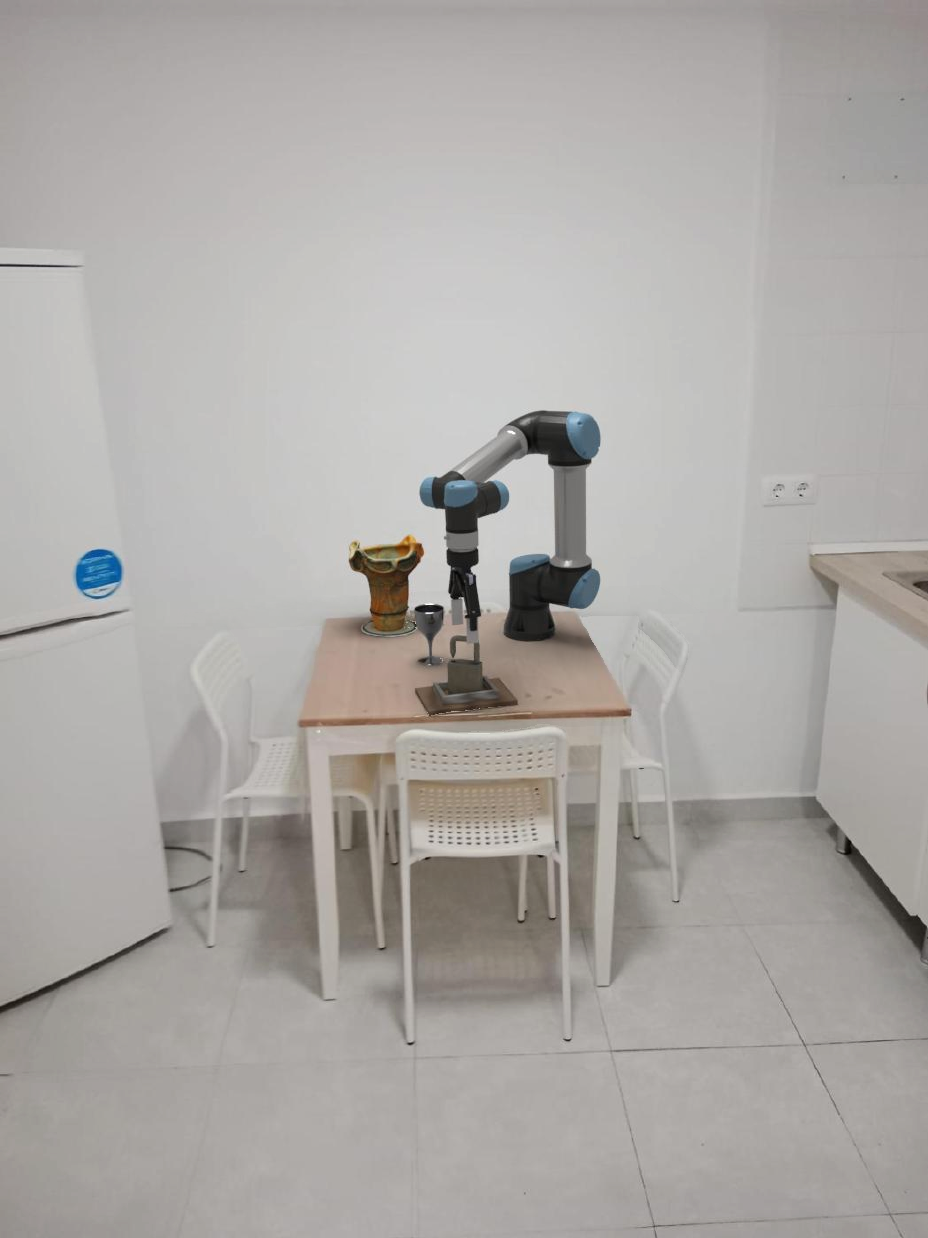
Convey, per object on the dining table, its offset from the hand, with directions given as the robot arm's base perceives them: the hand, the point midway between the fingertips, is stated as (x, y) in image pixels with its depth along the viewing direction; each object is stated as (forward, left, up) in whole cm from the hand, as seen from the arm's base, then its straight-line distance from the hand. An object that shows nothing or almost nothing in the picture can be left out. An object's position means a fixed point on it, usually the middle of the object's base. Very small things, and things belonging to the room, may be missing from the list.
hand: (464, 633), depth 227 cm
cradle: (0, 0, -17) cm, 17 cm away
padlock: (0, 0, -16) cm, 16 cm away
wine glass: (+2, -28, -17) cm, 33 cm away
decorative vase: (+7, -59, -17) cm, 62 cm away
